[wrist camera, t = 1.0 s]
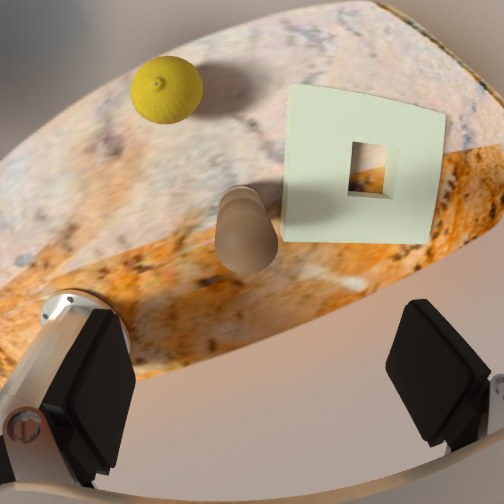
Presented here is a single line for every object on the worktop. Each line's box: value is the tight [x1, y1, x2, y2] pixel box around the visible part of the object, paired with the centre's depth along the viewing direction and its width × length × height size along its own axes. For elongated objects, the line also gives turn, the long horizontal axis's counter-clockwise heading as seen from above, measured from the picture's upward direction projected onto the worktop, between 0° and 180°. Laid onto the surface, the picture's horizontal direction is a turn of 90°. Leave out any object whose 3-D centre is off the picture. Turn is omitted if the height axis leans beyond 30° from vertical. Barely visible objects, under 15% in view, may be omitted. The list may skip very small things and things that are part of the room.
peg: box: [215, 185, 278, 274], centre depth 23 cm, size 4×4×11 cm
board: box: [280, 84, 446, 244], centre depth 27 cm, size 14×16×2 cm
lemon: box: [130, 56, 203, 124], centre depth 20 cm, size 6×6×8 cm
